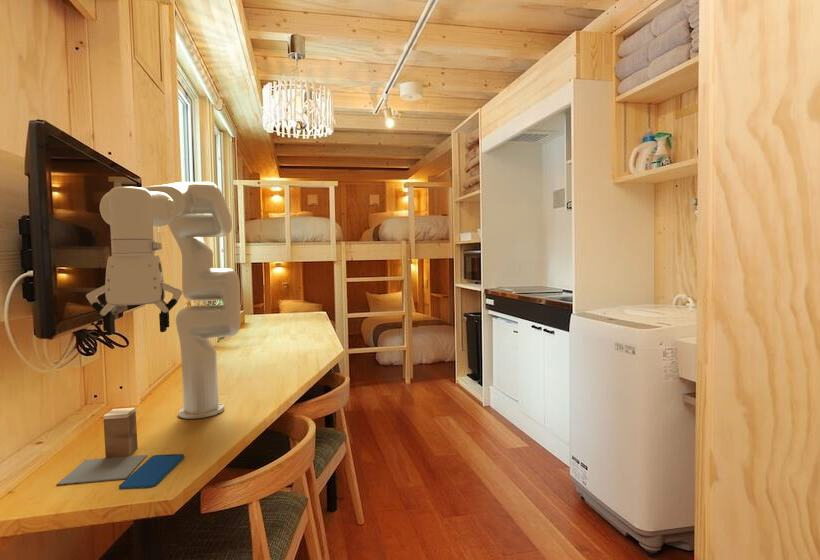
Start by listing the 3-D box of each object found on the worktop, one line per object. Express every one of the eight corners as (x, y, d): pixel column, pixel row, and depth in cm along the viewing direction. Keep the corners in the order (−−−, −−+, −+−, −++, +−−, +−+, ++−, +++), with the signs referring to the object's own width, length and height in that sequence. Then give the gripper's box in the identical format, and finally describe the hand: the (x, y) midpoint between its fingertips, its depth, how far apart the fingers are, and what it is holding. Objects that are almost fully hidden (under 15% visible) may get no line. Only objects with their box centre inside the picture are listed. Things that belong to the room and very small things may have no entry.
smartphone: (116, 487, 96) (153, 454, 111) (116, 492, 96) (153, 459, 111) (154, 486, 96) (185, 453, 111) (154, 490, 96) (186, 457, 111)
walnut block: (115, 450, 116) (112, 409, 116) (137, 448, 117) (135, 407, 116) (105, 458, 111) (103, 415, 111) (129, 456, 112) (127, 414, 111)
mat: (85, 461, 110) (85, 459, 110) (147, 455, 112) (147, 454, 112) (56, 485, 98) (56, 484, 98) (126, 479, 100) (126, 477, 100)
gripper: (182, 248, 104) (186, 327, 105) (90, 250, 99) (95, 333, 100) (176, 247, 97) (180, 332, 98) (77, 249, 92) (82, 338, 93)
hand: (137, 332), depth 99 cm, fingers open, 9 cm apart
